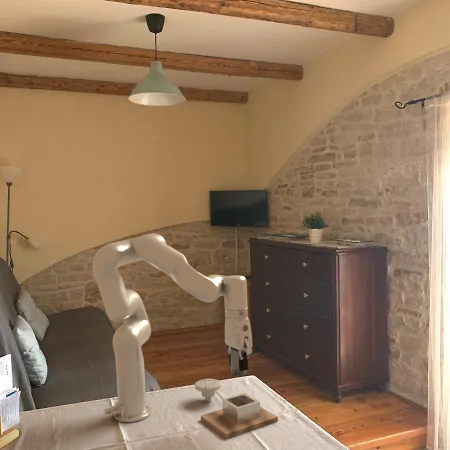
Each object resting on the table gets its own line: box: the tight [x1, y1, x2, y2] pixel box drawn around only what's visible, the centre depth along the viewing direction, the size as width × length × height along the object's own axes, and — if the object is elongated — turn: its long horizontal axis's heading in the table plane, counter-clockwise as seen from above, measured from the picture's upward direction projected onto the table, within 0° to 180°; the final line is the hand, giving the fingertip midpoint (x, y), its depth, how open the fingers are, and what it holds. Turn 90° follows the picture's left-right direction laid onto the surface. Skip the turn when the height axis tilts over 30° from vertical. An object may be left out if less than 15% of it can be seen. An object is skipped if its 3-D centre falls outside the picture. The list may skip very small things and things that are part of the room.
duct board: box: [200, 392, 279, 440], centre depth 160 cm, size 20×16×6 cm
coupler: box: [230, 347, 248, 377], centre depth 160 cm, size 5×5×8 cm
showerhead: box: [194, 377, 222, 402], centre depth 177 cm, size 9×7×10 cm
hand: (238, 367), depth 160 cm, fingers closed on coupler, 5 cm apart
